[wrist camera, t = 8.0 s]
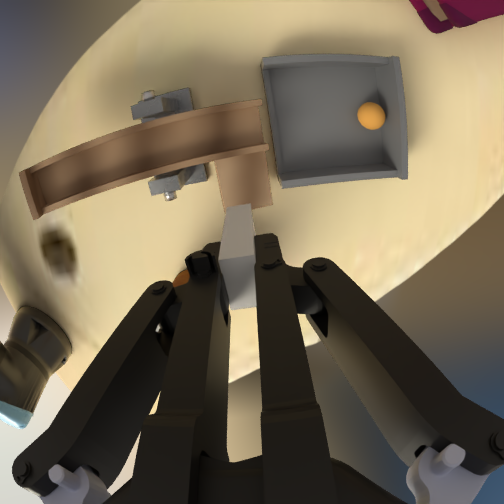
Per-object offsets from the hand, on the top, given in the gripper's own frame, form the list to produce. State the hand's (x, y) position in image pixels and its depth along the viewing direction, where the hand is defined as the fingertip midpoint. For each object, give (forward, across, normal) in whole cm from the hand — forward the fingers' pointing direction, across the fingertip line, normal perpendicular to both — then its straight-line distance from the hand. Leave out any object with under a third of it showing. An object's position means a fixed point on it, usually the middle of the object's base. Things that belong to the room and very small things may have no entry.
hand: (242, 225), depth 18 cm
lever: (+10, -9, +3) cm, 14 cm away
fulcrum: (+15, -7, +6) cm, 18 cm away
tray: (+15, +11, +6) cm, 19 cm away
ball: (+13, +15, +6) cm, 21 cm away
